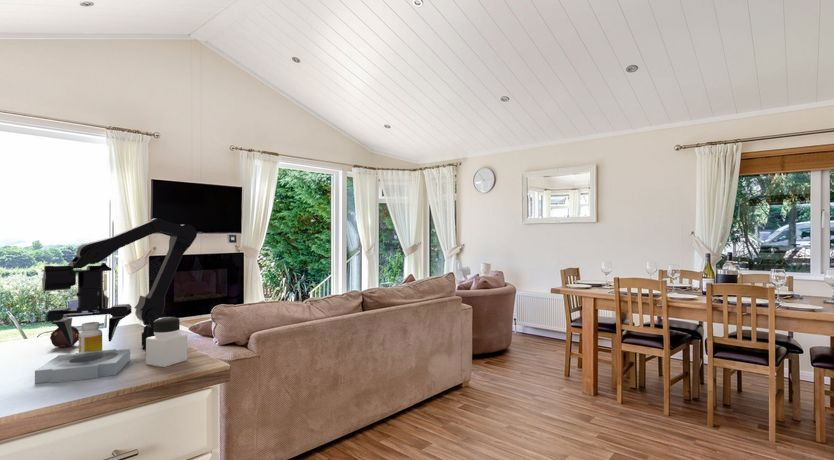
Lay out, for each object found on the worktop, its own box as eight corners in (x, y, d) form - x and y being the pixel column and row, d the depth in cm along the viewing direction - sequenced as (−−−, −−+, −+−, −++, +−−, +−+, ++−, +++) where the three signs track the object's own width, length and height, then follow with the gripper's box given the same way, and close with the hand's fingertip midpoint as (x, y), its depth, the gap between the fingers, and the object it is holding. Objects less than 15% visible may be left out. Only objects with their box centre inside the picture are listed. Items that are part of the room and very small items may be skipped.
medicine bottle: (187, 360, 119) (187, 316, 119) (163, 367, 112) (162, 321, 112) (170, 357, 122) (170, 314, 122) (145, 364, 115) (145, 319, 115)
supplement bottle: (107, 355, 125) (107, 321, 125) (91, 360, 119) (91, 325, 120) (89, 354, 125) (89, 321, 125) (73, 360, 120) (73, 325, 120)
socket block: (131, 358, 121) (131, 347, 121) (114, 376, 106) (114, 363, 106) (60, 365, 115) (60, 354, 115) (32, 384, 100) (32, 371, 100)
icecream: (88, 327, 133) (77, 325, 143) (58, 325, 128) (49, 323, 137) (82, 350, 131) (71, 347, 141) (51, 349, 126) (42, 345, 136)
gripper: (135, 283, 134) (136, 333, 133) (61, 286, 127) (61, 339, 127) (126, 287, 123) (126, 342, 123) (44, 290, 116) (45, 349, 116)
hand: (90, 342), depth 122 cm, fingers open, 9 cm apart
